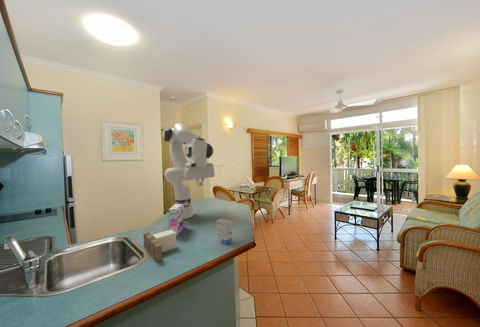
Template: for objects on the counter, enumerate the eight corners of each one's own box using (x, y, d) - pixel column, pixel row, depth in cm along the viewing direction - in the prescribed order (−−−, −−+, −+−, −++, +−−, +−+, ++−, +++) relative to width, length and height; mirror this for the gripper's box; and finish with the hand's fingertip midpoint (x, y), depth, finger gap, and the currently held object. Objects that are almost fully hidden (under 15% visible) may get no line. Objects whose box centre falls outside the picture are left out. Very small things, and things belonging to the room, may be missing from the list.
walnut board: (144, 246, 104) (143, 233, 103) (148, 244, 105) (148, 232, 105) (156, 261, 89) (156, 246, 89) (162, 259, 91) (161, 245, 90)
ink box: (232, 242, 107) (232, 221, 107) (226, 245, 104) (225, 223, 103) (223, 237, 113) (222, 217, 113) (216, 240, 110) (215, 219, 109)
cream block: (153, 249, 100) (152, 234, 100) (171, 243, 107) (171, 229, 106) (157, 254, 96) (156, 238, 95) (176, 247, 102) (176, 232, 102)
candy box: (178, 236, 116) (177, 209, 115) (168, 236, 115) (167, 209, 115) (184, 227, 129) (184, 203, 128) (176, 227, 129) (175, 203, 128)
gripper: (210, 162, 130) (211, 183, 131) (182, 164, 117) (182, 187, 118) (216, 163, 126) (216, 184, 126) (187, 164, 112) (187, 188, 113)
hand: (200, 185), depth 122 cm, fingers closed
